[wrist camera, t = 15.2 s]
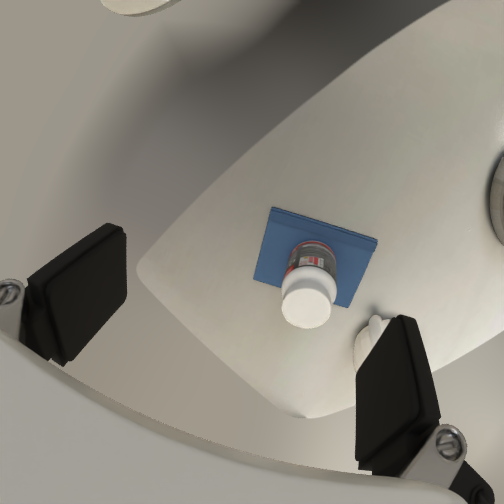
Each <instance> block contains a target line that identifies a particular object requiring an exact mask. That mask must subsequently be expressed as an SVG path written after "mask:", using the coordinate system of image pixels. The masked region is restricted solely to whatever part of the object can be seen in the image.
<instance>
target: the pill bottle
mask: <svg viewBox="0 0 504 504" xmlns="http://www.w3.org/2000/svg"><path fill="white" fill-rule="evenodd" d="M281 294H282V298H283V301H282V313H283V315H284V317H285V319H286V320H287V321H288V322H289V323H291V324H292V325H294V326H296V327H299V328H304V329H310V328H315V327H318V326H320V325H322V324H323V323H324V322H325V321H326V320H327V319H328V318H329V316H330V313H331V306H332V304H333V303H334V301H335V299H336V294H337V271H336V258H335V255H334V253H333V251H332V250H331V248H329V247H328V246H327V245H326V244H324V243H322V242H319V241H306V242H303V243H301V244H299V245H297V246H296V247H295V248H294V249H293V251H292V252H291V254H290V257H289V261H288V264H287V268H286V272H285V275H284V279H283V282H282V286H281Z"/></svg>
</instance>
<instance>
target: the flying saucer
mask: <svg viewBox="0 0 504 504" xmlns="http://www.w3.org/2000/svg"><path fill="white" fill-rule="evenodd" d="M490 213H491V220H492V224H493V228H494V231H495V233H496V235H497V237H498V239H499V240H500V242H501V243H502V244H503V245H504V156H503V158H502V159H501V161H500V163H499V165H498V167H497V169H496V172H495V175H494V178H493V182H492V187H491V194H490Z"/></svg>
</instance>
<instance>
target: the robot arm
mask: <svg viewBox="0 0 504 504" xmlns="http://www.w3.org/2000/svg"><path fill="white" fill-rule="evenodd" d="M27 281H28V286H27V287H26V288H25V287H24V285H23V283H21V282H20V281H19V280H16V279H5V280H2V281H0V504H494V502H495V499H494V493H493V490H492V488H491V487H490V486H489V484H488V483H487V482H486V481H485V480H484V479H483V478H482V477H481V476H480V475H479V474H478V473H477V472H476V471H475V470H474V469H473V468H472V467H471V466H470V465H469V464H468V463H467V462H466V461H465V460H464V459H465V456H466V453H467V444H466V440H465V438H464V436H463V434H462V433H461V432H460V431H459V429H457V428H456V427H454V426H452V425H449V424H442V425H440V424H439V419H440V418H441V414H440V410H439V405H438V400H437V395H436V391H435V387H434V382H433V378H432V374H431V370H430V366H429V363H428V359H427V355H426V352H425V348H424V345H423V341H422V338H421V335H420V331H419V328H418V325H417V322H416V320H415V319H414V318H411V317H408V316H404V315H398V316H397V317H396V318H395V317H393V318H392V319H391V320H390V322H389V323H388V325H387V327H386V328H385V330H384V331H383V333H382V335H381V336H380V338H379V339H378V341H377V342H376V344H375V345H374V347H373V348H372V350H371V351H370V353H369V354H368V356H367V357H366V359H365V360H364V362H363V363H362V365H361V366H360V368H359V369H358V371H357V374H356V445H355V459H356V461H359V467H358V470H367V471H372V475H363V474H355V473H347V472H339V471H333V470H326V469H320V468H314V467H308V466H302V465H297V464H292V463H287V462H283V461H279V460H274V459H270V458H266V457H262V456H258V455H254V454H251V453H247V452H244V451H240V450H237V449H233V448H230V447H227V446H223V445H220V444H217V443H214V442H211V441H208V440H205V439H203V438H200V437H197V436H194V435H191V434H189V433H186V432H184V431H181V430H178V429H176V428H173V427H171V426H168V425H166V424H164V423H161V422H159V421H156V420H154V419H152V418H150V417H147V416H145V415H143V414H141V413H139V412H137V411H135V410H132V409H131V408H128V407H126V406H124V405H122V404H120V403H118V402H116V401H114V400H113V399H111V398H108V397H107V396H105V395H103V394H101V393H99V392H98V391H96V390H94V389H92V388H90V387H89V386H87V385H85V384H83V383H82V382H80V381H78V380H77V379H75V378H73V377H72V376H70V375H68V374H67V373H65V372H64V371H62V370H60V369H59V368H57V367H56V366H54V365H52V364H51V363H49V362H48V361H49V359H50V358H52V360H53V361H55V362H56V363H58V364H59V365H61V366H62V367H64V366H65V364H66V363H67V362H68V361H72V360H74V359H75V357H76V356H77V355H78V354H79V353H80V352H81V350H82V349H83V348H84V347H85V346H86V345H87V343H88V342H89V341H90V340H91V339H92V338H93V337H94V335H95V334H96V333H97V332H98V331H99V330H100V329H101V327H102V326H103V325H104V324H105V323H106V322H107V321H108V319H109V318H110V317H111V316H112V315H113V314H114V313H115V312H116V310H118V308H119V307H120V306H121V305H122V304H123V303H124V302H125V299H126V297H127V275H126V234H125V233H124V232H123V228H122V227H119V226H116V225H114V224H111V223H106V224H104V225H103V226H101V227H100V228H98V229H96V230H95V231H94V232H92V233H90V234H89V235H87V236H86V237H84V238H83V239H81V240H80V241H78V242H77V243H76V244H74V245H73V246H71V247H70V248H68V249H67V250H65V251H64V252H63V253H61V254H60V255H58V256H57V257H55V258H54V259H53V260H51V261H50V262H49V263H47V264H46V265H45V266H43V267H42V268H40V269H39V270H38V271H36V272H35V273H34V274H32V275H31V276H30V277H29V278H27Z"/></svg>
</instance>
